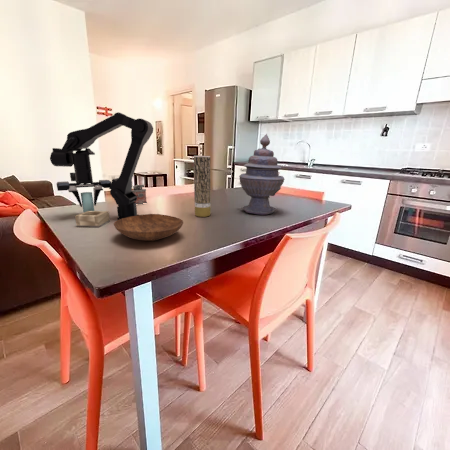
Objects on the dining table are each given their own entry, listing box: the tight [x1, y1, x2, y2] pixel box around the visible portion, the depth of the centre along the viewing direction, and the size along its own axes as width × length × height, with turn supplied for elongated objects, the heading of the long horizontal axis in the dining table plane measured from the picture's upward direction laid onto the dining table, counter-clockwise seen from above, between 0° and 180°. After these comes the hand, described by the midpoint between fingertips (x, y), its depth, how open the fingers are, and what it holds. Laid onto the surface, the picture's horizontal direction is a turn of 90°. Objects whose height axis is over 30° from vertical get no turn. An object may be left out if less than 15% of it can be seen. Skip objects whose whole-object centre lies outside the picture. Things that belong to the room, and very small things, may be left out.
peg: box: [80, 191, 95, 213], centre depth 99 cm, size 4×4×10 cm
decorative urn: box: [238, 133, 285, 216], centre depth 110 cm, size 20×20×35 cm
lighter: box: [131, 184, 148, 205], centre depth 126 cm, size 8×3×10 cm, turn 143°
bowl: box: [113, 213, 184, 242], centre depth 77 cm, size 20×22×5 cm
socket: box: [74, 210, 111, 228], centre depth 90 cm, size 8×8×4 cm
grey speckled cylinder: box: [193, 155, 212, 218], centre depth 102 cm, size 7×7×25 cm
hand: (88, 206), depth 99 cm, fingers open, 5 cm apart
